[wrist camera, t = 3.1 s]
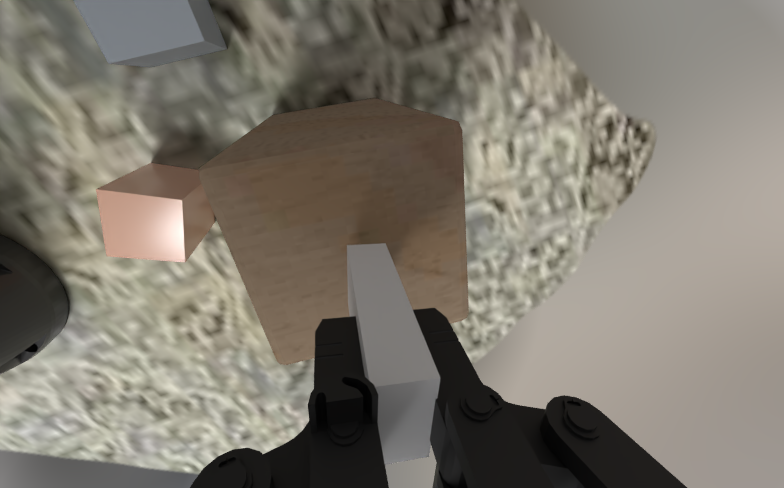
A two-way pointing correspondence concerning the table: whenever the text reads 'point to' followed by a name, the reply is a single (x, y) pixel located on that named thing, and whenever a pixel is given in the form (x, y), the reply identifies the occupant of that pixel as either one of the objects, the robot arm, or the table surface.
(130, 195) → the terracotta block
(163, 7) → the slate cube
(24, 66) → the table surface
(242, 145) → the wooden block
